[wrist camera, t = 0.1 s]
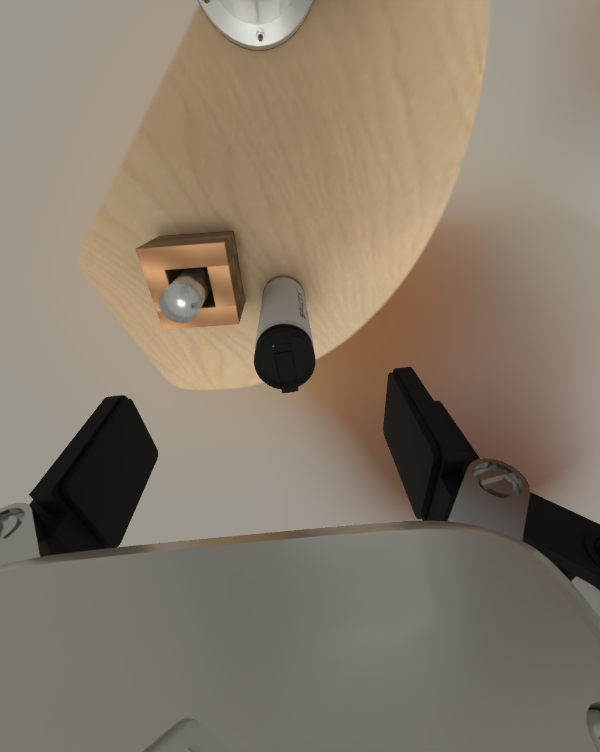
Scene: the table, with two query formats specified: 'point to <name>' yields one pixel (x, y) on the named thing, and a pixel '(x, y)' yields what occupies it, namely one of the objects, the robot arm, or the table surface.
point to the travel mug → (284, 336)
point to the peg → (185, 295)
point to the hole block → (192, 251)
